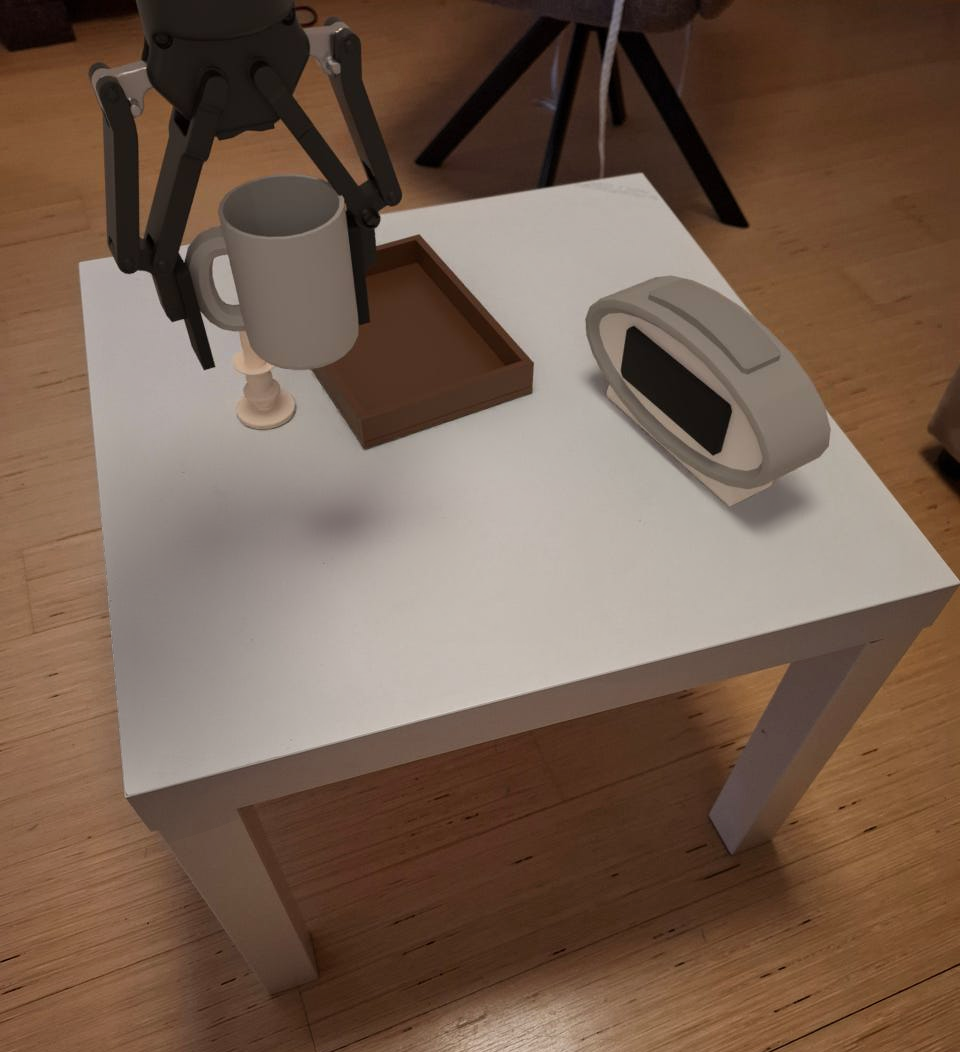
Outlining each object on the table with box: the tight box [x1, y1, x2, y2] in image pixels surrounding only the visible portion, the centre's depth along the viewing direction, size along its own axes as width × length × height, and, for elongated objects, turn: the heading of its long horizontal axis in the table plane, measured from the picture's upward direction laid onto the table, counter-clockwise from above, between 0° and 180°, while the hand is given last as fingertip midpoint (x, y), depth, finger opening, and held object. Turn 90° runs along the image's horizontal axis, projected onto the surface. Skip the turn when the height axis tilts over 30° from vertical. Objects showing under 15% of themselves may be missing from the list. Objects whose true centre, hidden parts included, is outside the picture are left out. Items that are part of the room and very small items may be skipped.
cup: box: [183, 173, 359, 371], centre depth 57 cm, size 7×10×9 cm
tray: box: [311, 233, 535, 450], centre depth 88 cm, size 24×17×3 cm
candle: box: [231, 331, 297, 430], centre depth 80 cm, size 5×5×10 cm
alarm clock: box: [584, 275, 832, 508], centre depth 77 cm, size 23×6×13 cm, turn 33°
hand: (282, 334), depth 61 cm, fingers closed on cup, 10 cm apart
